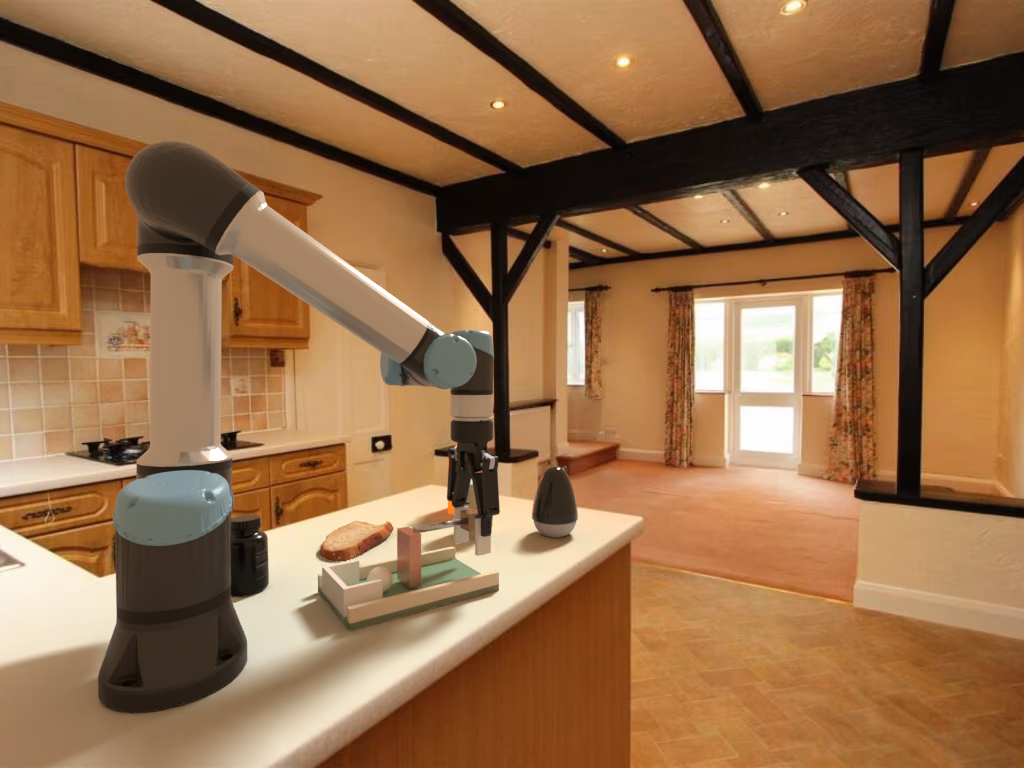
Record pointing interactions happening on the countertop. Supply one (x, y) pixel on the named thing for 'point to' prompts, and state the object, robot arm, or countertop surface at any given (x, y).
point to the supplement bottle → (248, 556)
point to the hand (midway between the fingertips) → (471, 547)
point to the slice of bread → (353, 540)
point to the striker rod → (412, 546)
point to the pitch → (400, 588)
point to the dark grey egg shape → (554, 503)
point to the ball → (381, 577)
